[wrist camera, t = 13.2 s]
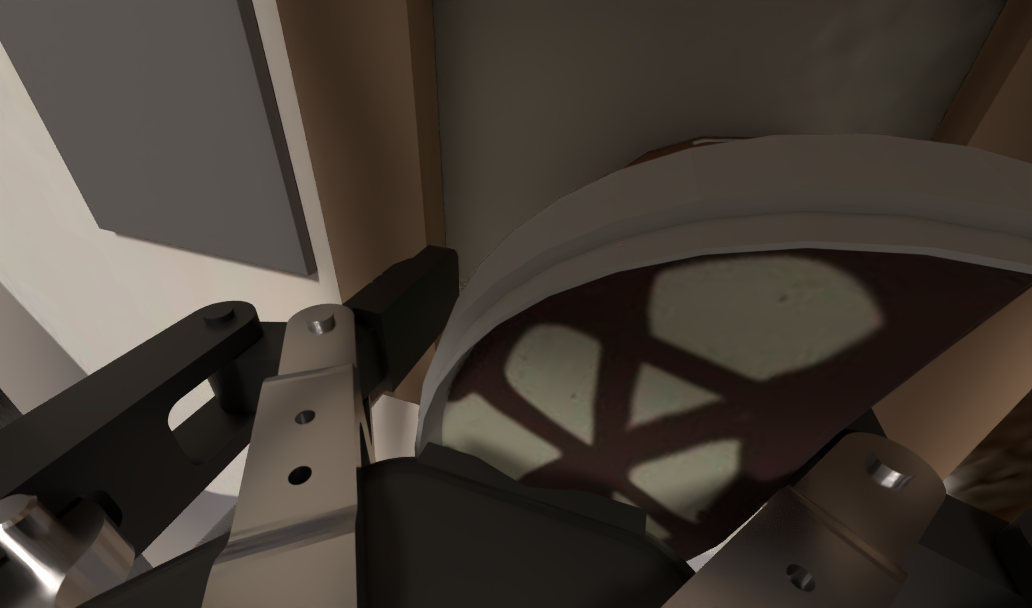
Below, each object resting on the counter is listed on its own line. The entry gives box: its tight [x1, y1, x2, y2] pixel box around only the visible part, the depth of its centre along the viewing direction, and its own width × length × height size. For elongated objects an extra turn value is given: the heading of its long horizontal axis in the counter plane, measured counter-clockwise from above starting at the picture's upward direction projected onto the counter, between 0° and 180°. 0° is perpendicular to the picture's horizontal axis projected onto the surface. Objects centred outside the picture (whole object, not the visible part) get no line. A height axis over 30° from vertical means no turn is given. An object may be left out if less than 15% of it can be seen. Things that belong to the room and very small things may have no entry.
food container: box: [415, 134, 1032, 561], centre depth 11 cm, size 12×6×10 cm, turn 162°
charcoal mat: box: [0, 0, 317, 276], centre depth 18 cm, size 14×14×1 cm
